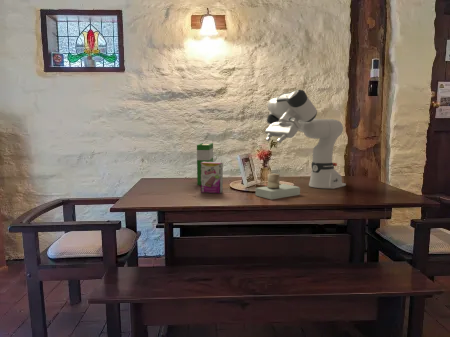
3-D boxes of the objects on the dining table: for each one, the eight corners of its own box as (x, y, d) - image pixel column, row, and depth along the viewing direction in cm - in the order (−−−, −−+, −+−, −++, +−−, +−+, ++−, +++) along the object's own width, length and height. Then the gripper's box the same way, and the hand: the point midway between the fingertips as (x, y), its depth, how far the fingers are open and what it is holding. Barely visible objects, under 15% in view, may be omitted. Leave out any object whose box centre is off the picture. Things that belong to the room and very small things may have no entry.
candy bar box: (200, 192, 205) (200, 162, 202) (203, 191, 209) (203, 161, 207) (220, 193, 202) (220, 163, 199) (223, 192, 206) (223, 162, 204)
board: (283, 191, 208) (284, 183, 208) (299, 194, 198) (300, 187, 198) (255, 195, 197) (255, 187, 196) (270, 199, 187) (271, 191, 187)
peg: (274, 192, 201) (274, 173, 199) (281, 194, 196) (282, 174, 194) (265, 193, 197) (265, 174, 196) (272, 195, 192) (272, 175, 191)
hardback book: (201, 180, 246) (201, 143, 243) (213, 180, 245) (213, 143, 242) (197, 184, 229) (196, 145, 225) (209, 185, 228) (209, 145, 225)
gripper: (271, 117, 213) (257, 136, 210) (297, 118, 197) (282, 138, 193) (277, 125, 217) (263, 143, 213) (303, 127, 200) (288, 146, 196)
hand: (272, 141), depth 203 cm, fingers open, 8 cm apart
